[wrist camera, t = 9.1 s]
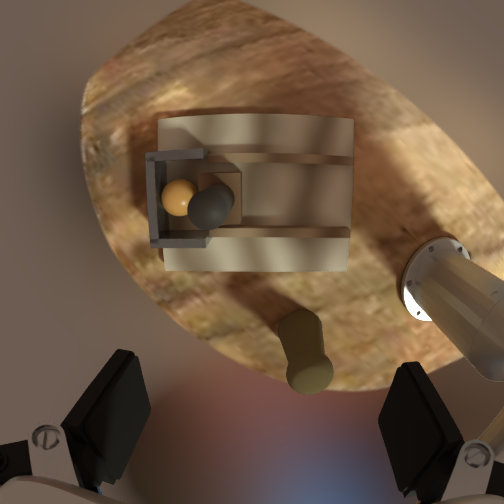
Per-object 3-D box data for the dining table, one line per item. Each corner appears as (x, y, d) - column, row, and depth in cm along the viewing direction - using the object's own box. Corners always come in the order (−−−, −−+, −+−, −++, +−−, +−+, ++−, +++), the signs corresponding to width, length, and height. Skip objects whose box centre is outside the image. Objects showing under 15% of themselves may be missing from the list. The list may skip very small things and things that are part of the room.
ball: (154, 180, 30) (185, 177, 32) (156, 216, 31) (187, 211, 34) (171, 180, 27) (205, 177, 30) (173, 221, 28) (206, 215, 31)
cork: (271, 319, 38) (275, 373, 28) (314, 303, 37) (332, 353, 27) (286, 352, 40) (293, 408, 29) (327, 338, 39) (345, 391, 29)
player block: (242, 171, 31) (233, 175, 21) (242, 216, 33) (234, 243, 22) (205, 172, 31) (179, 177, 21) (206, 217, 33) (182, 243, 22)
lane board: (349, 120, 31) (358, 117, 28) (343, 267, 36) (350, 275, 33) (161, 120, 31) (153, 117, 28) (168, 266, 36) (161, 274, 34)
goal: (209, 149, 31) (203, 148, 27) (211, 238, 34) (206, 248, 30) (157, 153, 31) (145, 152, 27) (162, 238, 34) (150, 248, 30)
